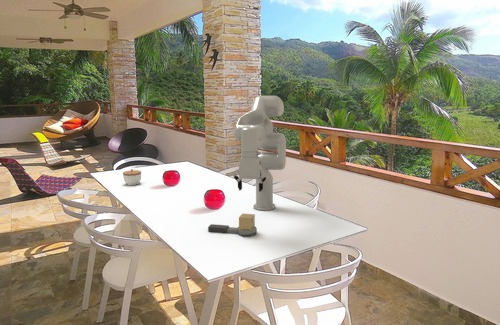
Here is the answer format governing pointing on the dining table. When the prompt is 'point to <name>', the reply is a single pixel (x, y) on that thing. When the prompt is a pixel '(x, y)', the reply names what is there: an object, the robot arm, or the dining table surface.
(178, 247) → the dining table surface
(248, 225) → the brushed gold cube
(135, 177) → the lidded bowl
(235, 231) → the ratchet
